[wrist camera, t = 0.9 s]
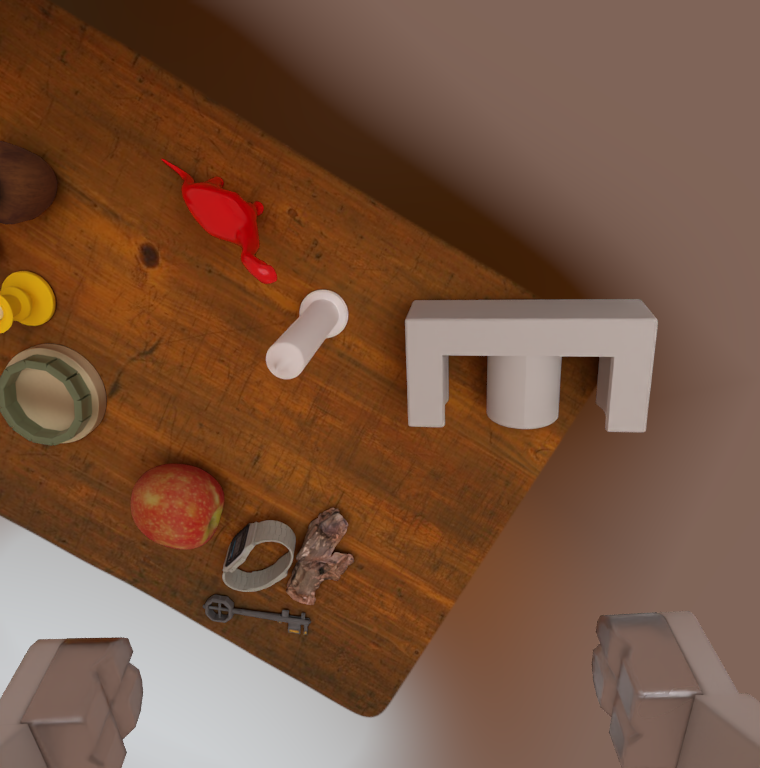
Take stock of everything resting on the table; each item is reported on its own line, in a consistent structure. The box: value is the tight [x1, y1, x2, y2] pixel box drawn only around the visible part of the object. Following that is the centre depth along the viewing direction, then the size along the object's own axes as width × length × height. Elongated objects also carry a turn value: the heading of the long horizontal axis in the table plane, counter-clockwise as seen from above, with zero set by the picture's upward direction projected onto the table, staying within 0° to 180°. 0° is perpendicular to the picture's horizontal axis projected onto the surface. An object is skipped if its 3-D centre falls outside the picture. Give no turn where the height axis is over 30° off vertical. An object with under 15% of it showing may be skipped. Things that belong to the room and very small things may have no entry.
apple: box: [131, 463, 224, 549], centre depth 64 cm, size 8×8×8 cm
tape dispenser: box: [405, 299, 658, 433], centre depth 55 cm, size 19×9×6 cm, turn 92°
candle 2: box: [266, 290, 348, 379], centre depth 52 cm, size 4×4×16 cm
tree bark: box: [286, 508, 354, 605], centre depth 67 cm, size 6×12×2 cm, turn 158°
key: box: [203, 595, 311, 635], centre depth 72 cm, size 12×1×3 cm
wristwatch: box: [222, 520, 296, 592], centre depth 67 cm, size 9×6×5 cm
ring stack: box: [0, 344, 106, 446], centre depth 64 cm, size 10×10×3 cm
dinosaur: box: [161, 159, 277, 284], centre depth 51 cm, size 4×15×12 cm, turn 59°
